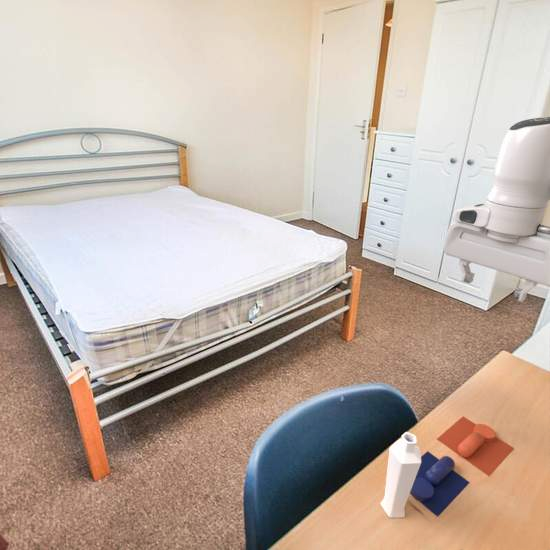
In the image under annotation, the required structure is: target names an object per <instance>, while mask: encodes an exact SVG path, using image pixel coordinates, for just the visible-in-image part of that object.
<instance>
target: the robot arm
mask: <svg viewBox="0 0 550 550" xmlns="http://www.w3.org/2000/svg"><path fill="white" fill-rule="evenodd" d="M503 137H504V138H503V140H502V142H501V145H500V148H499V150H498V154H497V157H496V160H495V164H494V169H493V172H492V179H493V181H492V186H491V190H490V191H489V193H488V194H487V197H486V201H485V203H480V204H472V205H468V206H464V207H461V208H458V209H456V210H455V211H454V215H453V219H454V221H453V222H452V223H451V224H450V225H449V226H448V228H447V232H446V235H445V238H444V243H443V246H442V247H443V248H442V249H443V251H444V253H445V255H446V256H449V257H453V258H456V259H459V263H458V265H459V268H460V270H461V274H462V276H461V282H463V283H466V284H471V283H473V281H474V278H475V274H476V273H474V272H471V268H470V265H471V264H472V263H473V264H476V265H478V266H481V267H485V268H488V269H492V270H495V271H497V272H501V273H505V274H508V275H511V276H514V277H518V278H520V279H524V280H525V281H524V285H525V286H526V287H524V288H517V289H516V290H514V292H513V296H512V300H514V301H517V302H519V303H523V302H524V301H525V300H526V298H527V295H528V293H529V292H530V291H531V290H532V289H534V288H535V287H536V286H537V285H539V284H540V285H543V286H546V287H549V288H550V226H548V225H544V224H542V223H543V220H544V215H545V213H546V210H547V207H548V203H549V201H550V116H546V117H534V118H529V119H524V120H521V121H518V122H515V123H514V124H513V125H511V126H510V127H509V129H507V132H506V133H505V136H503Z"/></svg>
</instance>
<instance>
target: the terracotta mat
mask: <svg viewBox="0 0 550 550" xmlns="http://www.w3.org/2000/svg"><path fill="white" fill-rule="evenodd" d="M475 425H477V423H475V422H473V421H471V420H470V419H468V418H467V417H465V416H463V415H462V416H461V417H460V418H459V419H458V420H457V421H455V423H453V424H452V425H451V426H450V427H448V429H446V430H445V431H444V432H443V433H441V435H439V436H438V437H437V438H436V440H437V441H439V442H440V443H441V444H442V445H444V446H446V447H447V448H448V449H450V450H451V451H452V452H454V453H455V454H457V455H458V456H459V457H461V458H462V459H464V460H465V461H466V462H468V463H469V464H471V465H472V466H473V467H475V468H477V470H479V471H480V472H482V473H483V474H485V475H486V476H488V477H490V476H491V475H492V474H493V473H494V472H495V471H496V470H497V469H498V467H500V465H501V464H502V463H503V462H504V460H505V459H507V457H508V456H509V455H510V454H511V453H512V451H514V449H515V448H514V447H513V446H512V445H509V444H508V443H507V442H505V441H503V440H502V439H500V438H499V437H497V436H495V437H494V440H493V441H492V442H490V443H486V442H484V443H483V444H482V445H481V446H480V447H479V448H478V449H477V450H476V451H475V452H474V453H473V454H472V455H471V456H469V457H463V456H461V455H460V454H459V452H458V446H459V444H460V443H461V442H463V441H464V440H465V439H466V438H467V437H468V436H469V435H470V434H471V433H472V432H473V430H474V427H475Z"/></svg>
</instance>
